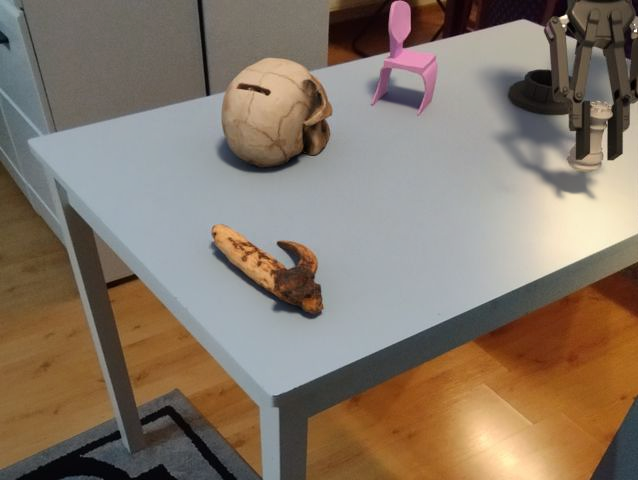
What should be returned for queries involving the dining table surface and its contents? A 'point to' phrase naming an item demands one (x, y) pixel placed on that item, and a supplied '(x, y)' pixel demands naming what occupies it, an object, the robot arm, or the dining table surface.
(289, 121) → the coin bank
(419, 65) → the toy chair
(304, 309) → the lashed bone hook
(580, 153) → the robot arm
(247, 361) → the dining table surface
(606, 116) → the rook chess piece
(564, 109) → the socket pad
